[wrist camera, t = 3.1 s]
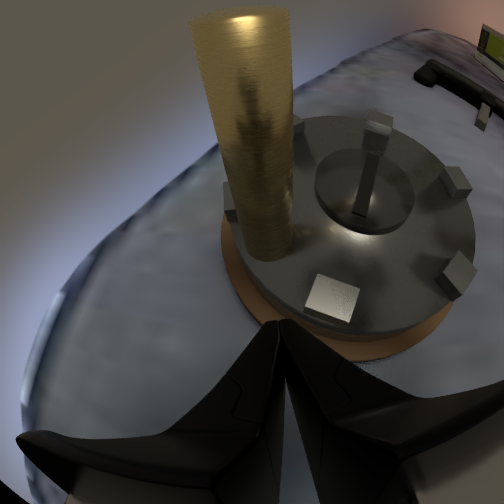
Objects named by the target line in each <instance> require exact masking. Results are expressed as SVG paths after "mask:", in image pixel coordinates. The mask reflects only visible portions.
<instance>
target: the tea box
mask: <svg viewBox="0 0 504 504" xmlns="http://www.w3.org/2000/svg"><path fill="white" fill-rule="evenodd" d="M475 59H477V60H478V61H479V62H481V63H482V64H483V65H484V66H486V67H487V68H488V69H489V70H491V71H492V72H493V73H494V74H495V75H496V76H498V77H499V78H500V79H501V80H502V81H504V35H503V34H501V33H499V32H498V31H496V30H494V29H492V28H491V27H489V26H487V25H485V24H483V25H482V30H481V34H480V39H479V44H478V47H477V52H476V56H475Z"/></svg>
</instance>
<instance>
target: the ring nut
mask: <svg viewBox="0 0 504 504" xmlns="http://www.w3.org/2000/svg"><path fill="white" fill-rule="evenodd" d="M189 26H190V30H191V35H192V39H193V43H194V47H195V51H196V55H197V59H198V63H199V67H200V71H201V75H202V79H203V83H204V87H205V91H206V95H207V99H208V103H209V108H210V111H211V116H212V120H213V123H214V127H215V131H216V135H217V139H218V143H219V147H220V151H221V155H222V159H223V163H224V167H225V171H226V175H227V179H228V182H223V190H224V212H225V215H226V218H227V221H228V222H229V224H230V227H231V231H232V234H233V237H234V240H235V244H236V247H237V250H238V253H239V256H240V260H241V263H242V265H243V267H244V269H245V271H246V274H247V276H248V278H249V279H250V281H251V282H252V284H253V285H254V287H255V288H256V290H257V291H258V292H259V293H260V295H261V296H262V297H263V298H264V299H265V300H266V301H267V302H268V303H269V305H271V306H272V307H273V308H274V309H275V310H277V311H278V312H279V313H280V314H281V315H282V316H284V317H285V318H291V319H293V320H294V321H295V322H297V323H298V324H299V325H301V326H302V327H303V328H305V329H306V330H309V331H311V332H313V333H315V334H318V335H322V336H325V337H328V338H332V339H337V340H344V341H351V342H370V341H376V340H382V339H387V338H390V337H393V336H396V335H399V334H402V333H404V332H406V331H408V330H410V329H411V328H413V327H415V326H417V325H419V324H420V323H422V322H424V321H425V320H427V319H428V318H430V317H432V316H433V315H435V314H436V313H438V312H439V311H441V310H442V309H443V308H444V307H445V306H447V305H448V304H449V303H450V302H451V301H452V302H453V301H454V300H456V299H457V298H459V297H460V296H461V295H462V294H463V293H464V291H465V290H466V288H467V287H468V285H469V284H470V282H471V281H472V279H473V277H474V276H475V274H476V273H477V270H476V269H475V267H474V266H473V265H472V264H473V259H474V253H475V228H474V222H473V218H472V214H471V210H470V207H469V205H468V202H467V199H466V198H467V197H468V195H469V194H470V192H471V191H472V187H471V185H470V183H469V182H468V180H467V179H466V177H465V175H464V174H463V172H462V171H461V169H460V167H449V166H445V165H444V164H443V163H442V162H441V161H440V160H439V159H438V158H437V157H436V156H435V155H434V154H432V153H431V152H430V151H429V150H428V149H426V148H425V147H424V146H422V145H421V144H420V143H418V142H417V141H415V140H414V139H412V138H410V137H409V136H407V135H405V134H403V133H401V132H399V131H397V130H395V129H393V128H392V125H393V117H391V116H388V115H385V114H382V113H379V112H375V111H372V110H369V111H368V115H367V119H366V120H365V119H359V118H354V117H344V116H322V117H313V118H307V119H301V118H299V117H298V116H296V115H294V114H293V83H292V58H291V57H292V56H291V36H290V19H289V10H288V9H286V8H283V7H278V6H242V7H234V8H227V9H222V10H217V11H213V12H209V13H206V14H203V15H200V16H198V17H195V18H193V19H192V20H191V21H189Z"/></svg>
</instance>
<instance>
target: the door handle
mask: <svg viewBox="0 0 504 504" xmlns="http://www.w3.org/2000/svg"><path fill="white" fill-rule="evenodd" d="M414 78H415V79H416V81H418V82H419V83H421V84H423V85H425V86H428V87H430V86H433V85H434V84H435V83H436V84H438V85H440V86H442V87H444V88H445V89H447V90H449V91H451V92H452V93H454V94H456V95H457V96H459V97H461V98H462V99H464V100H466V101H467V102H469V103H470V104H472V105H473V106H475V107H476V108H477V109H478V110H479V113H478V116H477V120H476V123H475V126H477V127H478V128H479V129H481V130H482V131H483V132H484V130H485V128H486V125H487V122H488V117H490V116H491V114H492V112H493V111H494V112H496V113H497V114H499V115H500V116H501V117H502V118H504V102H503V101H502V100H500V99H499V98H498V97H496V96H495V95H493V94H492V93H491V92H489V91H488V90H486V89H485V88H483V87H482V86H480V85H478V84H477V83H475V82H474V81H472V80H470V79H469V78H467V77H465V76H464V75H462V74H460V73H458V72H457V71H455V70H453V69H451V68H449V67H447V66H446V65H444V64H442V63H440V62H438V61H436V60H433V59H429V60H428V61H427V62H426V64H425V65H423V66H422V67H421V68H420V69H418V70H417V71H416V72H415V73H414Z"/></svg>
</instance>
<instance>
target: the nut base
mask: <svg viewBox="0 0 504 504" xmlns="http://www.w3.org/2000/svg"><path fill="white" fill-rule="evenodd" d="M221 243H222V252H223V258H224V261H225V265H226V269H227V272H228V274H229V276H230V279H231V281H232V283H233V285H234V288H235V290H236V292H237V294H238V296H239V298H240V299H241V301H242V303H243V304H244V306H245V307H246V309H247V310H248V312H249V313H250V314H251V315H252V316H253V317H254V319H255V320H256V321H257V322H258V323H259V324H260V325H261V326H263V325H264V323H265V322H266V321H271V320H278V322H279V320H280V319H286V318H285V317H284V316H282V315H281V314H280V313H279V312H278V311H277V310H275V309H274V308H273V307H272V306H271V305H269V303H268V302H267V301H266V300H265V299H264V298H263V297H262V296H261V295H260V293H259V292H258V291H257V290H256V288H255V287H254V285H253V284H252V282H251V281H250V279H249V278H248V276H247V274H246V271H245V269H244V267H243V265H242V263H241V260H240V256H239V253H238V250H237V247H236V244H235V240H234V237H233V234H232V231H231V227H230V224H229V222H228V221H227V218H226V215H225V212H224V217H223V222H222V231H221ZM453 302H454V301H453ZM453 302H452V301H451V302H450V303H449V304H448V305H447V306H445V307H444V308H443V309H442V310H441V311H439V312H438V313H436V314H435V315H433V316H432V317H430V318H428V319H427V320H425V321H424V322H422V323H420V324H419V325H417V326H415V327H413V328H411V329H410V330H408V331H406V332H404V333H402V334H399V335H396V336H393V337H390V338H387V339H382V340H376V341H370V342H351V341H344V340H337V339H332V338H328V337H325V336H322V335H318V334H315V333H313V332H311V331H309V330H308V331H309V332H310V333H312V334H313V335H314V336H316V337H317V338H318V339H320V340H321V341H323V342H324V343H325V344H327V345H328V346H329V347H331V348H332V349H334V350H335V351H336V352H338V353H339V354H340V355H342V356H343V357H345V359H348V360H349V361H350V362H367V361H373V360H378V359H382V358H385V357H388V356H391V355H394V354H396V353H399V352H401V351H404V350H406V349H408V348H409V347H411V346H413V345H415V344H417V343H418V342H420V341H421V340H423V339H424V338H425V337H426V336H428V335H429V334H430V333H431V332H433V331H434V329H435V328H436V327H437V326H438V325H439V324H440V323H441V322H442V321H443V319H444V318H445V316H446V315H447V313H448V312H449V310H450V308H451V307H452V304H453Z"/></svg>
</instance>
